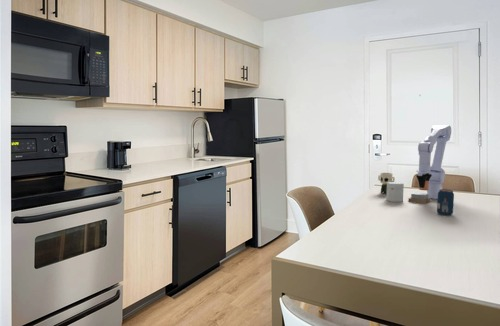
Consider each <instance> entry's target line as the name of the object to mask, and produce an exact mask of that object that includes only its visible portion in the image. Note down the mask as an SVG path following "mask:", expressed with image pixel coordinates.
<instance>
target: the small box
mask: <svg viewBox="0 0 500 326" xmlns="http://www.w3.org/2000/svg"><path fill="white" fill-rule="evenodd" d="M404 186H405V185H404V183H403V182H400V181H398V182H397V181H396V182H395V181H394V182H387V194H386V197H385V198H386V201H388V202H392V203H393V202H394V203H395V202H399V203H401V202H403V203H404Z"/></svg>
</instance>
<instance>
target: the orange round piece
mask: <svg viewBox="0 0 500 326" xmlns="http://www.w3.org/2000/svg"><path fill="white" fill-rule="evenodd" d="M428 189H429V181H425V186H424V188H420V187H419V186H418V190H419V191H427V190H428Z"/></svg>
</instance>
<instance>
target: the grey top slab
mask: <svg viewBox="0 0 500 326" xmlns="http://www.w3.org/2000/svg"><path fill="white" fill-rule="evenodd" d="M410 196H411V198H414V199H421V200H425V199H427V198H428V196H429V194H427V192H426V193H425V192H418V191H415V192H412V193H411V194H410Z"/></svg>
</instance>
